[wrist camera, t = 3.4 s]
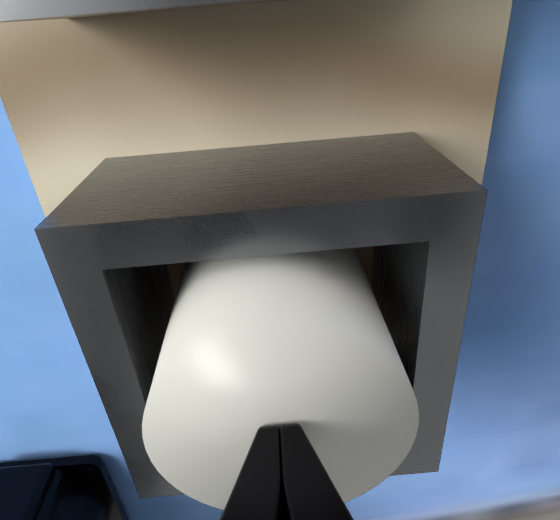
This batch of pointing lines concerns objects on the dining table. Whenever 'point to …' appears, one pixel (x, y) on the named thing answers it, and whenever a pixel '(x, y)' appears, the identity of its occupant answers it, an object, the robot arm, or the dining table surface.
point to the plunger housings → (259, 245)
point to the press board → (250, 82)
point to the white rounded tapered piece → (277, 373)
